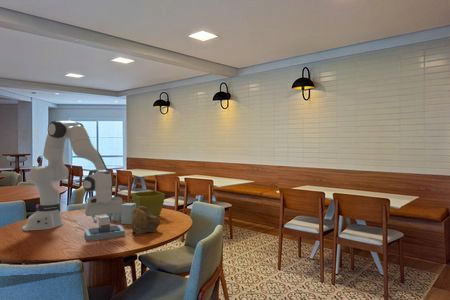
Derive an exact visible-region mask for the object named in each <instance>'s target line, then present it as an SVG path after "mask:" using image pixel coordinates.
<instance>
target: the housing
mask: <svg viewBox="0 0 450 300" xmlns="http://www.w3.org/2000/svg"><path fill="white" fill-rule="evenodd" d="M110 226H111V220H110V218H109V216H108V215H107V214H105V215H98V228H99V229H100V231H108V230H110Z"/></svg>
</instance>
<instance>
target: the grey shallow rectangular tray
mask: <svg viewBox="0 0 450 300" xmlns="http://www.w3.org/2000/svg"><path fill="white" fill-rule="evenodd" d="M125 232H126V230H125V229H124V228H123V227H122V226H121V225H120V224H117V225H110V230H108V231H100V229H99V227H93V228H87V229H84V236H85V239H86V241H87V242H91V241H97V240H99V241H100V240H103V239H105V240H106V239H110V238H111V239H113V238H119V237H125V235H126V233H125Z"/></svg>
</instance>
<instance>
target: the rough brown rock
mask: <svg viewBox="0 0 450 300" xmlns="http://www.w3.org/2000/svg"><path fill="white" fill-rule="evenodd" d="M160 222H161V220H160V218H159V217H156V216H153V215H152V214H151V212H150V211H149V210H148V209H147V208H146V207H144V206H138V208H137V209H136V208H135V209H134V210H133V213H132V220H131V224H130V225H131V227H130V228H131V230H132V231H134V234H135V235H141V234H146V233H151V234H152V233H155V232H156V231H157V229H158V227H159V226H160V224H161V223H160Z"/></svg>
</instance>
